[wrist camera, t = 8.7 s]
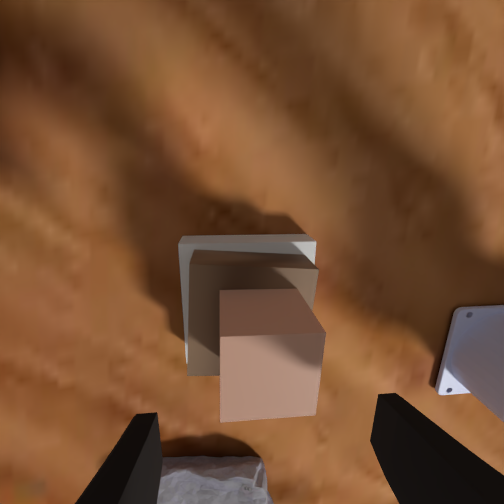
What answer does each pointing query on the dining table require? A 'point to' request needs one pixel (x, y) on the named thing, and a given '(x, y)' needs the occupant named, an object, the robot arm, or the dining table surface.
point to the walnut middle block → (235, 278)
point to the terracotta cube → (268, 355)
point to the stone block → (213, 480)
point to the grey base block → (241, 244)
